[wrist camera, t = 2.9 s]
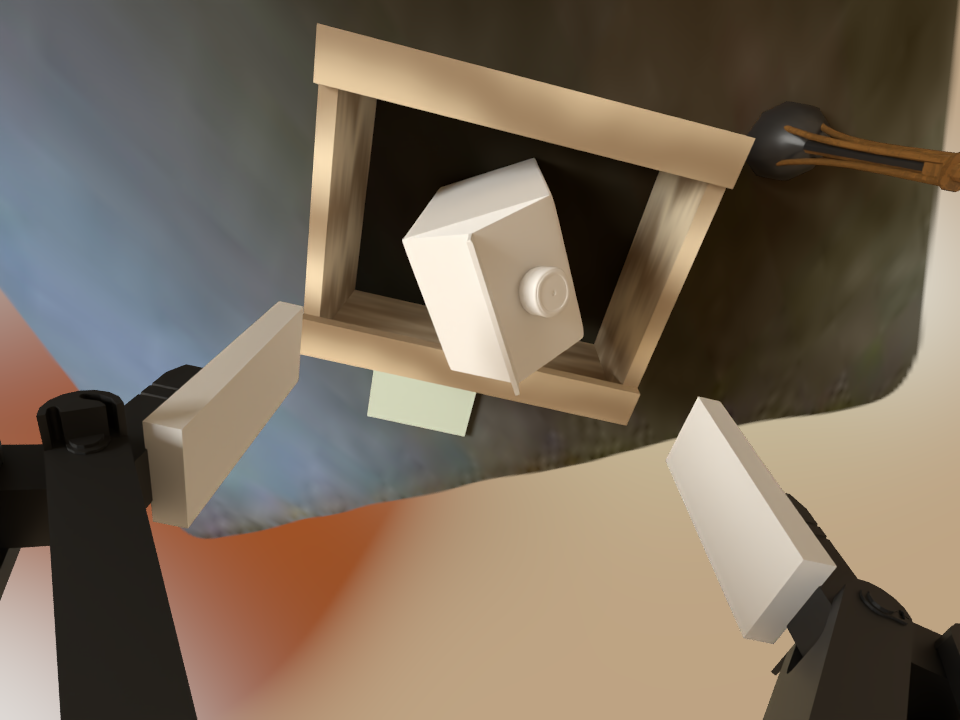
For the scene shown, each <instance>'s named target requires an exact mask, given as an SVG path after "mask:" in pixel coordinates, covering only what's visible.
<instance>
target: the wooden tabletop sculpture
mask: <svg viewBox="0 0 960 720" xmlns="http://www.w3.org/2000/svg"><path fill="white" fill-rule="evenodd" d="M746 136H749V137H752V138H756V139H755V141H754V143H753V145H752V147H751V150H750V152H749V154H748V156H747V159H746V162H747V163H748V165H749V166H750V167H751V169H752V170H753V172H754V173H755V174H756V175H757V176H761V177H766V178H772V179H777V180H789V179H792V178H794V177H796V176H798V175H800V174H803V173H805V172H807V171H809V170H811V169H813V168H814V167H815V166H816V165H826V166H834V167H843V168H851V169H856V170H862V171H867V172H873V173H878V174H884V175H888V176H893V177H898V178H903V179H908V180H912V181H917V182H922V183H927V184H932V185H936V186H940V188H941V189H942V190H946V191H952V192H957V191H959V190H960V152H959V153H952V152H945V151H937V150H929V149H921V148H914V147H906V146H900V145H893V144H887V143H880V142H875V141H870V140H866V139H861V138H857V137H852V136H849V135H846V134H844V133H841V132H838V131H835V130H833V129H831V127H830V125H829V124H828V122H827V120H826V119H825V117H824V116H823V114H822V112H821V111H820V109H819V108H817V107H815V106H811V105H806V104H800V103H795V102H787V101H786V102H784V103H782V104H780V105H777V106H775V107H773V108H771V109H769V110H767V111H765V112H763V113H762V114H761V115H760V117H759V118H758V119H757V121H756V122H755V124H754V125H753V126H752V128H751V129H750V131H749V132H748V134H747V135H746ZM830 136H832V137H833V138H830ZM834 138H836V139H834ZM823 156H825V157H823Z"/></svg>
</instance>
